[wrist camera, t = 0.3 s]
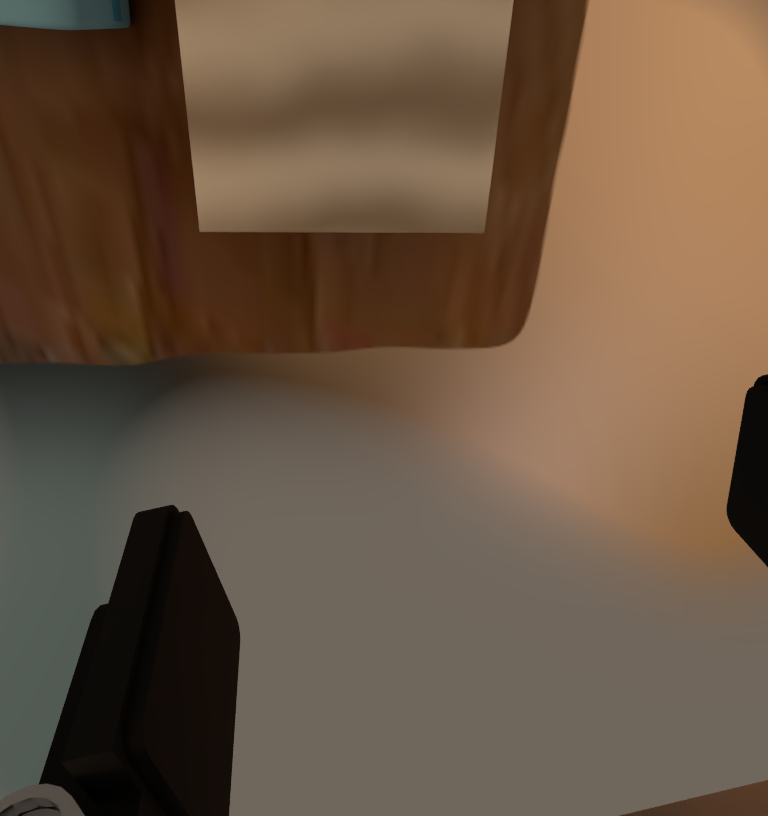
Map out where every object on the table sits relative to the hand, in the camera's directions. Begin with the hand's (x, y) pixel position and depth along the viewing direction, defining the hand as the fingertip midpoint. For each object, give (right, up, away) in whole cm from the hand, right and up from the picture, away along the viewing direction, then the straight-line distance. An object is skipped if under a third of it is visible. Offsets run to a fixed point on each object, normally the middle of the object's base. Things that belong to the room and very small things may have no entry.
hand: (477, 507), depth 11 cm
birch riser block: (-4, +19, +23) cm, 30 cm away
